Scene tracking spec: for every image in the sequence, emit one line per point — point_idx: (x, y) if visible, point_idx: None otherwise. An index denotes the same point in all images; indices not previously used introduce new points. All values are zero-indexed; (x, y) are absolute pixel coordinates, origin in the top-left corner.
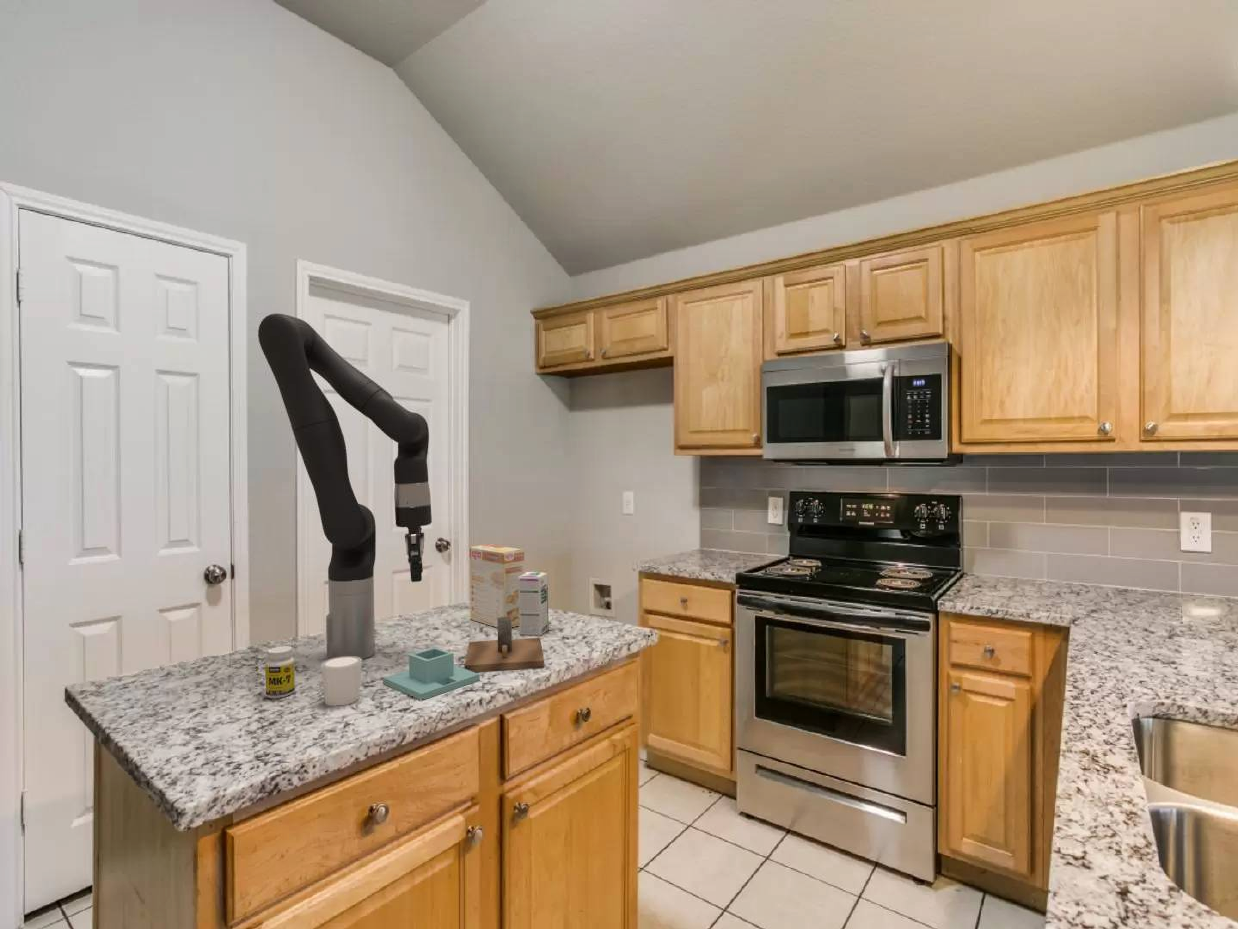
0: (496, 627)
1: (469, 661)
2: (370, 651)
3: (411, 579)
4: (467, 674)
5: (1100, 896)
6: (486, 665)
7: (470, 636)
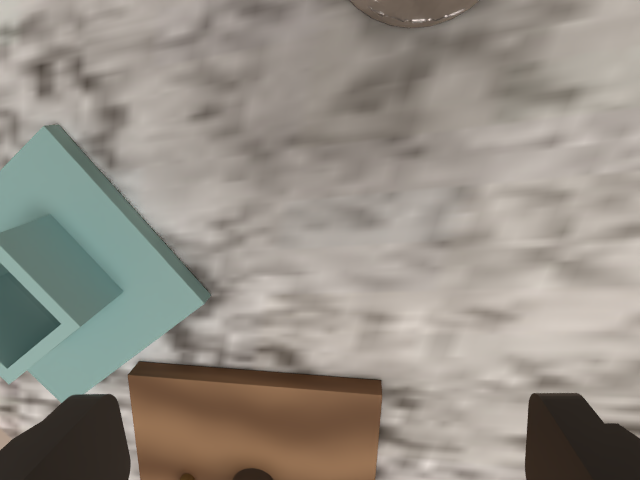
0: None
1: (163, 389)
2: (370, 13)
3: (63, 408)
4: (64, 378)
5: None
6: (136, 428)
7: (536, 389)
